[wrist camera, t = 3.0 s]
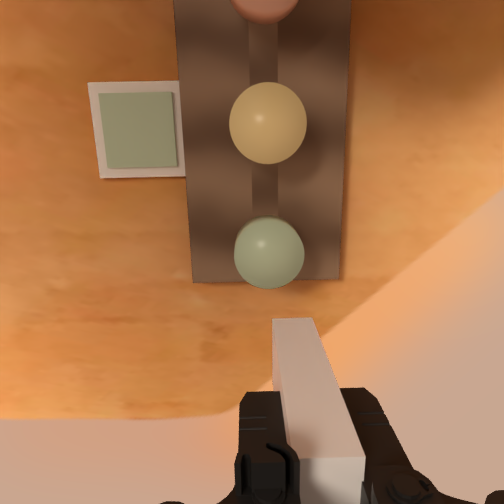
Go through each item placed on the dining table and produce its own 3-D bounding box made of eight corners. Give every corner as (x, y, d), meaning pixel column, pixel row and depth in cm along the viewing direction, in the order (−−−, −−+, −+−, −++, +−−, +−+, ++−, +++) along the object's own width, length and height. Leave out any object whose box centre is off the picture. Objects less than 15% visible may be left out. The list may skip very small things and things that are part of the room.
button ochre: (230, 92, 27) (227, 83, 22) (297, 91, 27) (307, 81, 23) (232, 161, 28) (230, 165, 24) (296, 160, 28) (306, 163, 24)
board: (174, -52, 26) (168, -68, 24) (346, -55, 26) (354, -71, 24) (195, 274, 33) (193, 282, 31) (333, 271, 33) (338, 279, 31)
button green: (234, 210, 29) (232, 222, 25) (295, 208, 29) (305, 220, 25) (236, 268, 31) (235, 289, 26) (295, 267, 31) (303, 288, 26)
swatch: (90, 83, 28) (85, 81, 28) (183, 81, 28) (181, 79, 28) (102, 177, 30) (98, 178, 29) (189, 175, 30) (188, 176, 30)
